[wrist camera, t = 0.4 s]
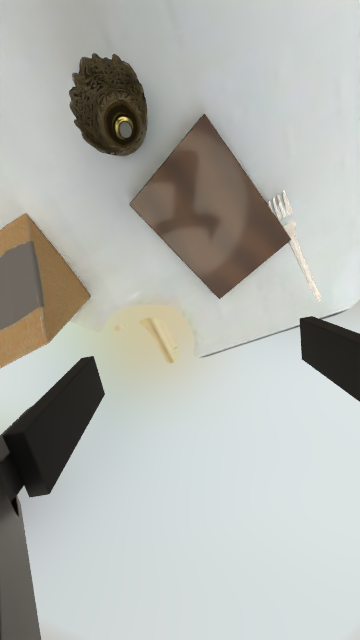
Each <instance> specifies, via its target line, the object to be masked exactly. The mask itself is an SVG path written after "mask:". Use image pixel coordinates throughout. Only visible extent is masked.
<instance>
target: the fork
mask: <svg viewBox="0 0 360 640" xmlns="http://www.w3.org/2000/svg"><path fill="white" fill-rule="evenodd" d="M277 197H278V203H279V208H280V211H281V213H282V215H283V218H284V219H285V218H286V215H285V212H284V209H283V206H282V203H281V199H280V196H279V194H278V195H277ZM283 198H284V204H285V208H286V211H287V214H288V216H291V215H292V214H293V212H292V210H291V207H290V205H289V202H288V199H287V196H286V194H285V191H283ZM273 205H274V209H275V213H276V215H277V217H278V219H279V221H281V220H282V219H281V216H280V214H279V211H278V208H277V205H276V202H275V198H273ZM268 206H269V208H270V209H271V211H272V212H273V210H272V207H271V203H270V201H268ZM283 228H284V229H285V231H286V232H287V234H288V235H289V237H290V238H291V240H290V241H289V243H290V245H291V247H292V249H293V251H294V253H295V255H296V258H297V260H298V262H299V264H300V266H301V268H302V271H303V273H304V275H305V277H306V279H307V281H308V283H309V286H310V288H311V290H312V292H313V294H314V296H315V298H316V300H317V301H320V300H321V297H320V295H319V292H318V290H317V287H316V285H315V283H314V280H313V278H312V275H311V273H310V271H309V268H308V266H307V263H306V261H305V259H304V256H303V254H302V251H301V249H300V246H299V244H298V241H297V239H296V236H295V229H296V220H295V219H293V220H292V221H290V222H289V223H288V224H287V225H285V226H284V227H283Z"/></svg>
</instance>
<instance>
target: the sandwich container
mask: <svg viewBox="0 0 360 640" xmlns="http://www.w3.org/2000/svg"><path fill="white" fill-rule="evenodd" d="M90 297H91V296H90V294H89V293H88V291H87V290H86V289H85V287H84V286H83V285H82V283H81V282H80V281H79V279H78V278H77V277H76V275H75V274H74V273H73V271H72V270H71V269H70V267H69V266H68V265H67V263H66V262H65V261H64V260H63V258H62V257H61V256H60V255H59V253H58V252H57V251H56V250H55V249H54V247H53V246H52V245H51V244H50V242H49V241H48V240H47V239H46V237H45V236H44V235H43V234H42V232H41V231H40V230H39V229H38V228H37V226H36V225H35V224H34V223H33V221H32V220H31V219H30V218H29V216H28V215H27V214H26V213H25V214H23V215H22V216H20V217H19V218H17V219H16V220H14V221H13V222H11V223H9V224H8V225H6V226H5V227H4V228H3V229H1V230H0V368H2V367H4V366H5V365H7V364H9V363H11V362H13V361H15V360H17V359H19V358H20V357H22V356H24V355H26V354H28V353H30V352H32V351H34V350H36V349H38V348H40V347H42V346H44V345H46V344H48V343H49V342H50V341H51V340H52V339H53V338H54V336H56V334H57V333H58V332H59V331H60V330H61V329H62V328H63V326H65V325H66V324H67V322H68V321H69V320H70V319H71V318H72V317H73V316H74V315H75V314H76V313H77V311H78V310H79V309H80V308H81V307H82V306H83V305H84V304H85V303H86V301H87V300H88V299H89V298H90Z"/></svg>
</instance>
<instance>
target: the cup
mask: <svg viewBox="0 0 360 640" xmlns="http://www.w3.org/2000/svg"><path fill="white" fill-rule="evenodd" d="M112 56H113V57H112V60H111V59H108V58H106V57H105V58H104V59H103V58H100V57H99V56H98V55H97V54H96V53H93V54H92V59H91V58H87V57H83V58H82V59H81V60H80V65H79V68H80V70H79V74H77V73H73V74H72V77H73V81H74V83H75V86H76V87H72V89H71V90H70V91H69V94H70V97H71V100H72V101H71V102H70V108H71V110H72V112H73V114H74V115H75V117H76V118H77V119H76V120H74V123H75V125H76V126H77V127H78V128H79V129H80V130H81V132H82V136H83V138H84V140H85V141H86V142H87V143H89V144H90V145H91V146H93V147H94V148H96V149H97V150H98V151H100V152H102V153H107V154H111V155H117V156H125V155H129V154H131V153H133V152H135V151H136V150H137V149H138V148H139V147H140V146H141V144H142V142H143V140H144V138H145V134H146V130H147V105H146V99H145V97H144V91H143V87H142V84H141V83H139V81H138V79H137V76H136V74H135V72H134V70H133V69H132V67H131V66H130V65H129V64H128V63H126V62H124V61H121V59H120V58H119V57H118V56H117V55H115V54H113V55H112ZM122 122H128V123H129V124H130V126H131V129H132V133H131V135H130V137H128V138H124V137H122V136H121V134H120V132H119V126H120V124H121V123H122Z"/></svg>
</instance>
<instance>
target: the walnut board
mask: <svg viewBox="0 0 360 640" xmlns="http://www.w3.org/2000/svg"><path fill="white" fill-rule="evenodd" d="M130 206H131V207H132V208H133V209H134V210H135V211H136V212H137V213H138V214H139V215H140V216H141V217H142V218H143V219H144V221H145V222H146V223H147V224H148V225H149V226H150V227H151V228H152V229H153V230H154V231H155V232H156V233H157V234H158V235H159V236H160V237H161V238H162V239H163V240H164V242H165V243H166V244H167V245H168V246H169V247H170V248H171V249H172V250H173V251H174V252H175V253H176V254H177V255H178V256H179V257H180V258H181V259H182V260H183V261H184V262H185V264H186V265H187V266H188V267H189V268H190V269H191V270H192V271H193V272H194V273H195V274H196V275H197V276H198V277H199V278H200V279H201V280H202V281H203V282H204V283H205V285H206V286H207V287H208V288H209V289H210V290H211V291H212V292H213V293H214V294H215V295H216V296H217V297H218V298H219V299H220V298H221V297H223V296H224V295H225V294H226V293H227V292H229V291H230V290H231V289H232V288H234V287H235V286H236V285H237V284H238V283H240V282H241V281H242V280H243V279H244V278H246V277H247V276H248V275H249V274H250V273H252V272H253V271H254V270H255V269H256V268H258V267H259V266H260V265H261V264H262V263H264V262H265V261H266V260H267V259H268V258H270V257H271V256H272V255H273V254H274V253H276V252H277V251H278V250H279V249H280V248H282V247H283V246H284V245H285V244H286V243H288V242H289V241H290V240H291V238H290V237H289V235H288V234H287V232H286V231H285V229H284V228H283V226H282V225H281V224H280V222H279V221H278V219H277V218H276V216H275V215H274V213H273V212H272V211H271V209H270V208H269V206H268V205H267V203H266V202H265V200H264V199H263V197H262V196H261V195H260V193H259V192H258V190H257V189H256V187H255V186H254V184H253V183H252V182H251V180H250V179H249V177H248V176H247V174H246V173H245V171H244V170H243V169H242V167H241V166H240V164H239V163H238V161H237V160H236V158H235V157H234V156H233V154H232V153H231V151H230V150H229V148H228V147H227V145H226V144H225V143H224V141H223V140H222V138H221V137H220V135H219V134H218V132H217V131H216V130H215V128H214V127H213V125H212V124H211V122H210V121H209V119H208V118H207V117H206V115H205V114H204V115H203V116H202V117H201V118H200V119H199V121H198V122H197V123H196V124H195V126H194V127H193V128H192V129H191V130H190V132H189V133H188V134H187V135H186V136H185V138H184V139H183V140H182V141H181V143H180V144H179V145H178V146H177V147H176V149H175V150H174V151H173V152H172V153H171V155H170V156H169V157H168V158H167V160H166V161H165V162H164V163H163V164H162V166H161V167H160V168H159V169H158V170H157V172H156V173H155V174H154V175H153V177H152V178H151V179H150V180H149V181H148V183H147V184H146V185H145V186H144V187H143V189H142V190H141V191H140V192H139V194H138V195H137V196H136V197H135V198H134V200H133V201H132V202H131V203H130Z"/></svg>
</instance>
